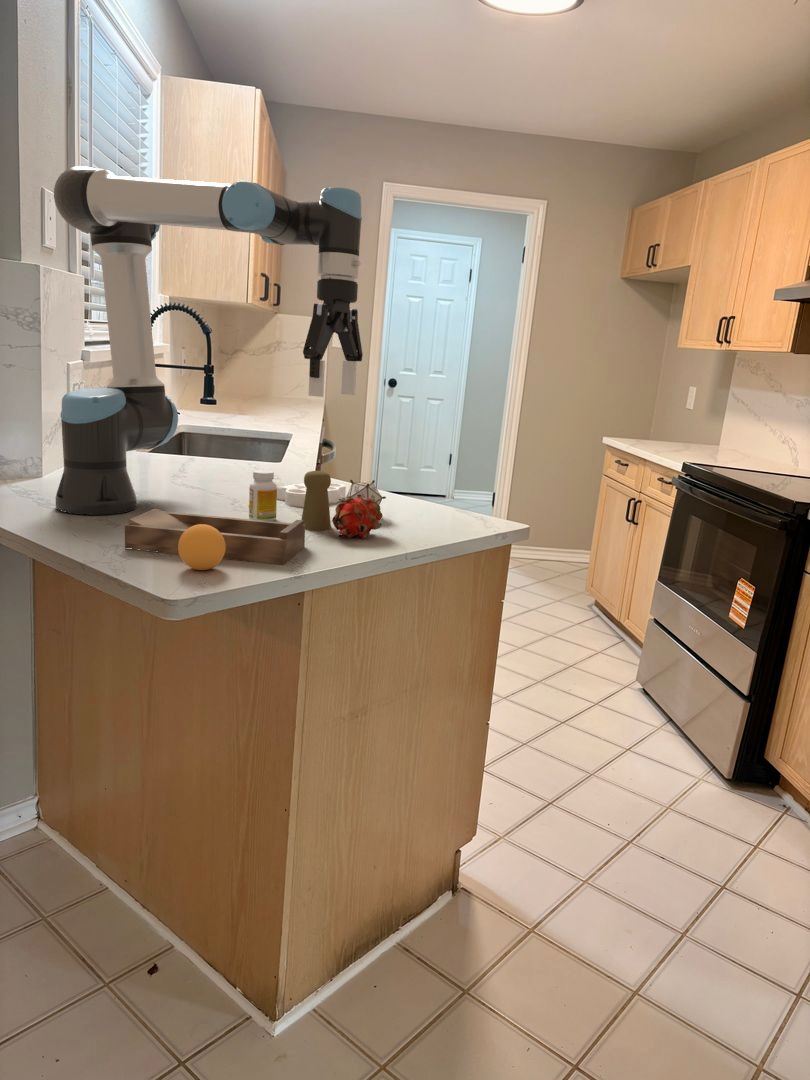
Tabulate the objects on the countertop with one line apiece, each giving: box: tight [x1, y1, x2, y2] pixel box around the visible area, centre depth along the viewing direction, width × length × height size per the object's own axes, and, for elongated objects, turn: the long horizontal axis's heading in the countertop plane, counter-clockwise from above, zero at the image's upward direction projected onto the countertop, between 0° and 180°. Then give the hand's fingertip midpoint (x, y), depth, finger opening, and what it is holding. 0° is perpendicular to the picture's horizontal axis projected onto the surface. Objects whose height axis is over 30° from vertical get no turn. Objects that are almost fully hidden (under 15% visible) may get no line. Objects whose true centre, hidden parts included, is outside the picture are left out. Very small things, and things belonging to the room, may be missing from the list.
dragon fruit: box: [331, 495, 383, 540], centre depth 144 cm, size 8×8×12 cm
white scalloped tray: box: [277, 482, 347, 508], centre depth 178 cm, size 3×18×15 cm
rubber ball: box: [178, 524, 226, 571], centre depth 117 cm, size 7×7×7 cm
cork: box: [300, 470, 332, 532], centre depth 150 cm, size 6×6×11 cm
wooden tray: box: [124, 508, 306, 566], centre depth 131 cm, size 27×12×5 cm, turn 82°
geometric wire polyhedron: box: [340, 479, 387, 506], centre depth 161 cm, size 9×8×10 cm
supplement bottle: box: [248, 469, 278, 522], centre depth 153 cm, size 5×5×10 cm
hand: (332, 395), depth 148 cm, fingers open, 13 cm apart
